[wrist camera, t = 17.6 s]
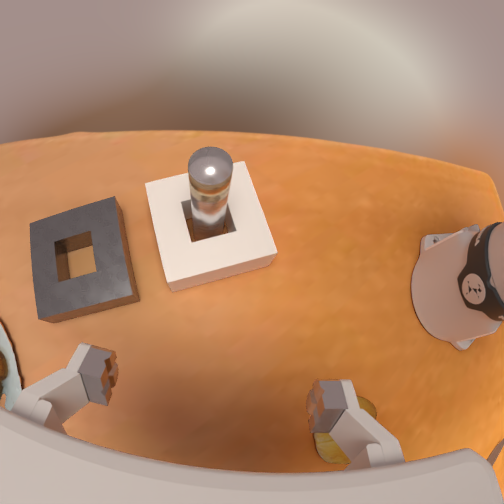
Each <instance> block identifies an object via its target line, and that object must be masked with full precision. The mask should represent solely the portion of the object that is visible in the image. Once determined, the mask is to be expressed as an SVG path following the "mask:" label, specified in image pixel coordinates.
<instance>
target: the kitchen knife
mask: <svg viewBox="0 0 504 504" xmlns="http://www.w3.org/2000/svg"><path fill="white" fill-rule="evenodd" d="M503 446H504V439H503V440H502V441H501V442H500V443H499V444H498V445H497V446H496V447H495V449H494V450H493V451H492V453H491V454H490V456H489V458H488V459H487V461H488V462H489V463H490V464H491V466H493V464H494V462H495V461H496V459H497V457H498V455H499V453H500V451H501V449H502V447H503Z"/></svg>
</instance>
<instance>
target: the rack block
mask: <svg viewBox="0 0 504 504" xmlns="http://www.w3.org/2000/svg"><path fill="white" fill-rule="evenodd" d="M145 185H146V190H147V196H148V201H149V206H150V211H151V215H152V220H153V225H154V229H155V234H156V238H157V243H158V247H159V251H160V256H161V260H162V264H163V268H164V272H165V276H166V280H167V283H168V285H169V287H170V289H171V291H172V292H176V291H179V290H183V289H187V288H190V287H194V286H198V285H201V284H205V283H209V282H212V281H216V280H220V279H223V278H227V277H230V276H234V275H238V274H241V273H245V272H248V271H252V270H255V269H259V268H262V267H266V266H269V265H270V263H271V262H272V260H273V259H274V257H275V256H276V255H277V253H278V252H277V249H276V246H275V244H274V241H273V238H272V235H271V233H270V230H269V227H268V224H267V222H266V219H265V216H264V213H263V211H262V208H261V205H260V202H259V200H258V197H257V194H256V192H255V189H254V186H253V184H252V181H251V178H250V176H249V173H248V170H247V168H246V165H245V162H244V161H242V162H237V163H233V172H232V179H231V185H230V190H229V194H228V201H227V208H226V214H225V223H226V226H227V230H228V233H227V234H223V235H219V236H215V237H211V238H208V239H204V240H200V241H196V242H192V243H191V239H190V235H189V232H188V228H187V224H186V219H190V218H192V210H191V197H190V188H189V176H188V173H185V174H181V175H177V176H173V177H168V178H164V179H160V180H156V181H152V182H149V183H145Z"/></svg>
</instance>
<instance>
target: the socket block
mask: <svg viewBox="0 0 504 504" xmlns="http://www.w3.org/2000/svg"><path fill="white" fill-rule="evenodd" d="M30 244H31V260H32V272H33V283H34V291H35V299H36V306H37V313H38V319H40V320H43V321H47V322H50V323H57V322H61V321H65V320H69V319H73V318H77V317H81V316H84V315H88V314H92V313H96V312H100V311H104V310H108V309H112V308H115V307H119V306H123V305H127V304H131V303H135V302H138V301H140V299H139V294H138V290H137V286H136V281H135V277H134V272H133V268H132V263H131V258H130V253H129V248H128V242H127V237H126V231H125V226H124V220H123V214H122V210H121V208H120V206H119V204H118V202H117V200H116V198H115V196H114V197H111V198H107V199H104V200H101V201H97V202H94V203H91V204H87V205H84V206H81V207H78V208H74V209H71V210H68V211H65V212H62V213H59V214H56V215H53V216H50V217H47V218H44V219H41V220H39V221H36V222H33V223H30ZM90 245H93V251H94V257H95V264H96V270H97V272H93V273H90V274H86V275H83V276H79V277H76V278H72V279H70V275H69V268H68V260H67V252H70V251H74V250H77V249H80V248H84V247H87V246H90Z"/></svg>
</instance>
